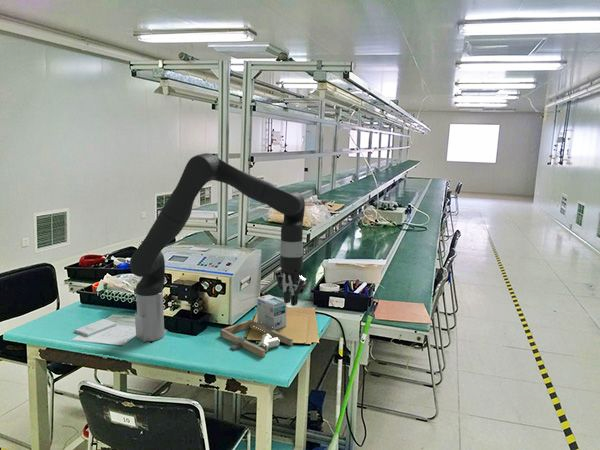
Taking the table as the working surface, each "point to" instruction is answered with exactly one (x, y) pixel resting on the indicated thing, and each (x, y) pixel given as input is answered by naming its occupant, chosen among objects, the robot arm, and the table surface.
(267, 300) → the light bulb box
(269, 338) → the pipe fitting
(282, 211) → the robot arm
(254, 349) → the wooden frame
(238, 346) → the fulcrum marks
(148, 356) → the table surface
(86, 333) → the external hard drive
